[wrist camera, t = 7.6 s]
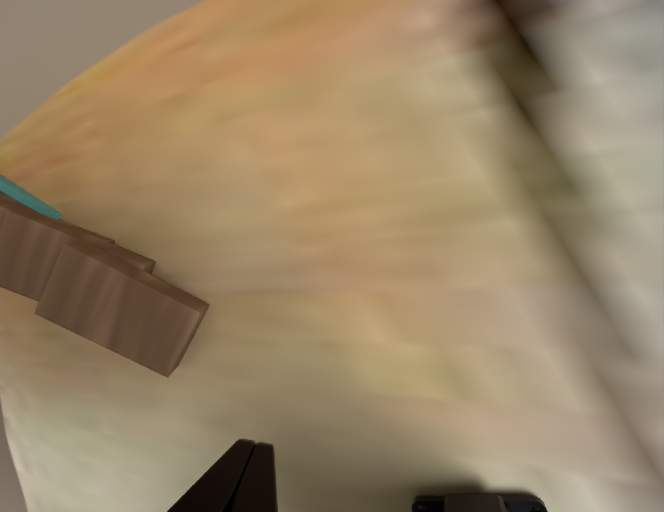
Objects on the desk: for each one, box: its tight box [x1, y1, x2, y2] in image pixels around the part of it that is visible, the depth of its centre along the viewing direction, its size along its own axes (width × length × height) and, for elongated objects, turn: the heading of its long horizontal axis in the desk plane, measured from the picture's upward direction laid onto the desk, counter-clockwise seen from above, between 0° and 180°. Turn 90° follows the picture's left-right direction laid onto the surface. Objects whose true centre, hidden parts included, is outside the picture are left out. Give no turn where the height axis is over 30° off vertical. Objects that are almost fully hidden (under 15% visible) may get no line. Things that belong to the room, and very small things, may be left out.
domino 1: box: [35, 240, 209, 377], centre depth 23 cm, size 2×5×9 cm
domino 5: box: [0, 175, 61, 220], centre depth 29 cm, size 2×5×9 cm
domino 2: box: [0, 210, 156, 302], centre depth 24 cm, size 2×5×9 cm
